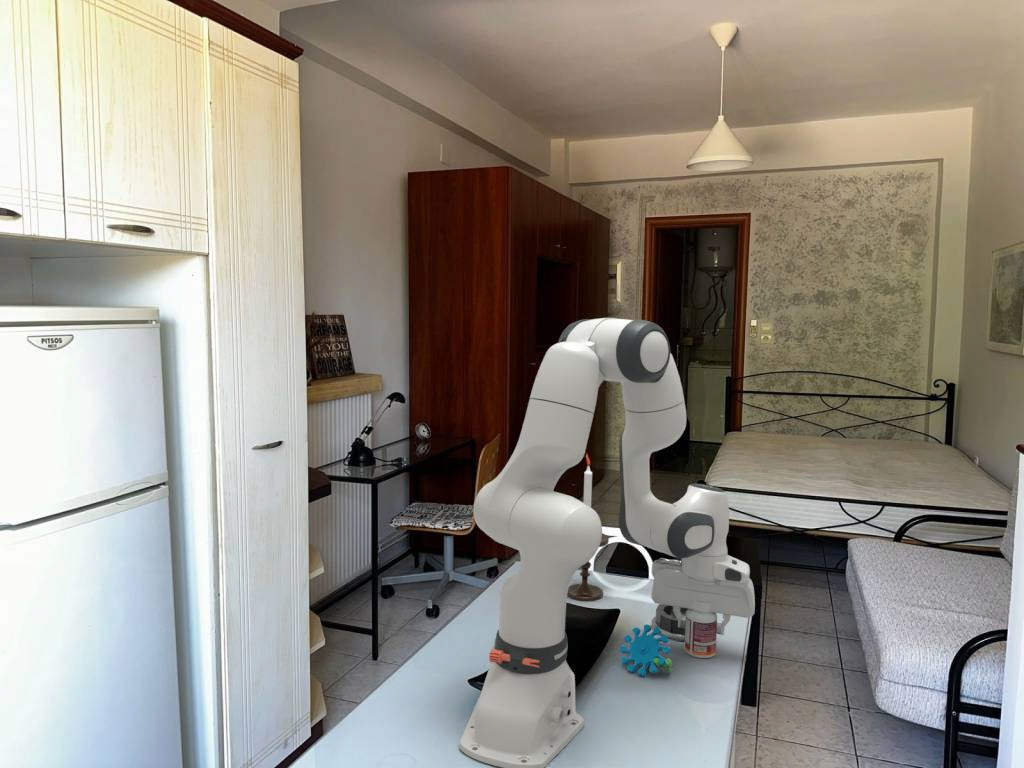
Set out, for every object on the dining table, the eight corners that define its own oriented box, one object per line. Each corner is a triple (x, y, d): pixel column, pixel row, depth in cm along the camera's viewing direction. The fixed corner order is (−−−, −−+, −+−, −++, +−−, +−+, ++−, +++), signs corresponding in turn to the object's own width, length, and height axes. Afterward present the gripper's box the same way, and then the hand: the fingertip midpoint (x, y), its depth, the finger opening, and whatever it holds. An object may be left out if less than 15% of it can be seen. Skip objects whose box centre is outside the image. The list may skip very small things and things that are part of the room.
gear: (608, 655, 140) (638, 614, 143) (620, 669, 144) (649, 628, 147) (651, 686, 132) (682, 641, 135) (663, 699, 135) (692, 655, 138)
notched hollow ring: (709, 646, 149) (710, 627, 149) (646, 635, 154) (647, 617, 153) (715, 622, 161) (715, 605, 161) (656, 613, 166) (657, 596, 165)
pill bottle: (721, 654, 146) (724, 600, 145) (702, 662, 142) (704, 606, 141) (697, 643, 151) (700, 590, 150) (677, 650, 147) (680, 596, 146)
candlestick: (553, 591, 178) (557, 451, 175) (585, 583, 184) (590, 448, 181) (582, 606, 169) (587, 459, 166) (615, 596, 175) (621, 455, 173)
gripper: (649, 561, 146) (646, 627, 147) (755, 576, 138) (752, 645, 139) (654, 552, 151) (652, 615, 153) (757, 566, 144) (753, 632, 145)
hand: (700, 630), depth 146 cm, fingers closed on pill bottle, 6 cm apart
